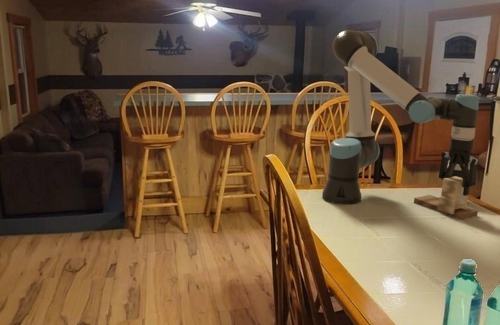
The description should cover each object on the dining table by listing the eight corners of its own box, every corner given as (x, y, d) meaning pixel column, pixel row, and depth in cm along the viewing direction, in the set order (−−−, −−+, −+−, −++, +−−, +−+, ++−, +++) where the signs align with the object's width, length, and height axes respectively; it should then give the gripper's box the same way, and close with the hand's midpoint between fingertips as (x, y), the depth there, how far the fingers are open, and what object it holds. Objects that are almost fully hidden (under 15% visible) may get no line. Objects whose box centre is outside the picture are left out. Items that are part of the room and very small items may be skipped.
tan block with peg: (437, 209, 172) (441, 178, 170) (454, 205, 177) (458, 175, 175) (452, 214, 167) (456, 182, 165) (469, 210, 173) (473, 179, 170)
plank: (413, 202, 183) (414, 197, 183) (429, 199, 188) (429, 194, 187) (461, 219, 166) (462, 214, 165) (477, 215, 170) (478, 210, 170)
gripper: (432, 134, 172) (425, 195, 177) (480, 144, 156) (471, 210, 162) (445, 133, 176) (438, 192, 181) (494, 142, 160) (484, 207, 165)
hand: (453, 200), depth 171 cm, fingers closed on tan block with peg, 6 cm apart
